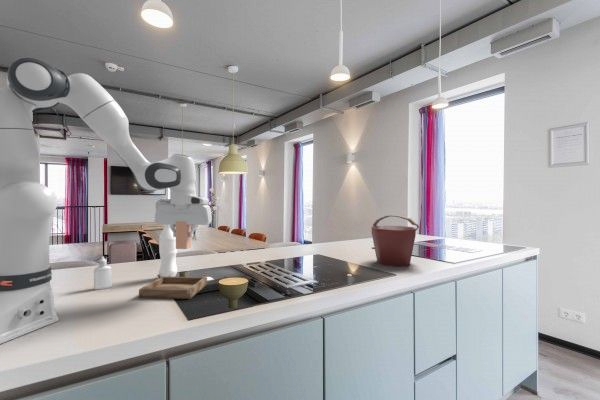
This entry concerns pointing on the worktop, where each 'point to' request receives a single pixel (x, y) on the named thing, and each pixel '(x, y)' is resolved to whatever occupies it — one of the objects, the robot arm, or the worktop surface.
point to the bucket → (394, 243)
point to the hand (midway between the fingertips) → (183, 236)
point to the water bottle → (167, 253)
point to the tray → (173, 287)
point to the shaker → (182, 235)
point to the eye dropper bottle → (102, 275)
